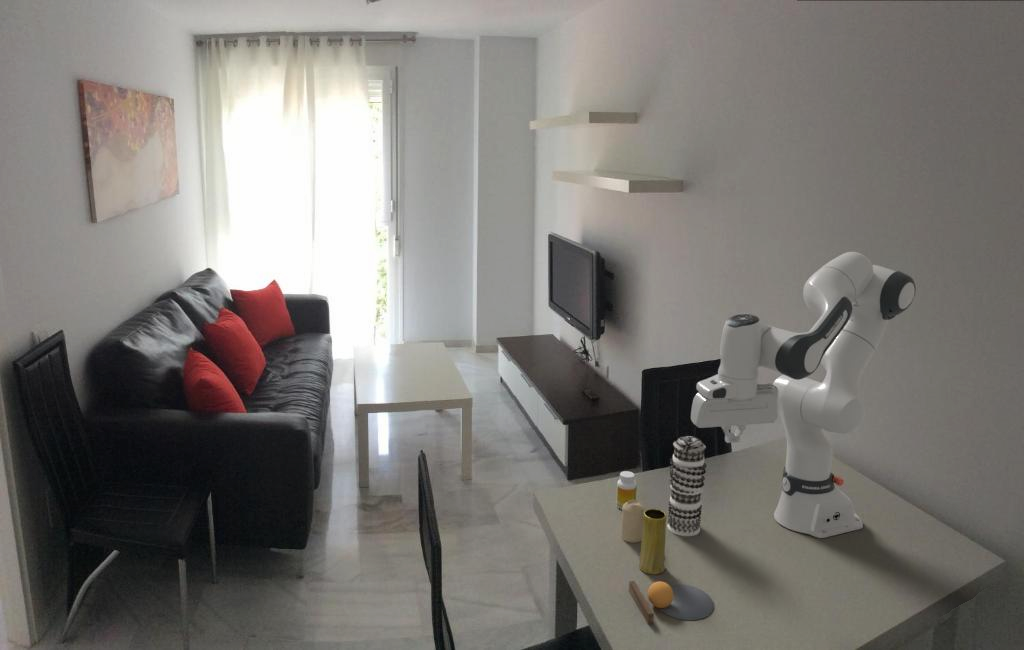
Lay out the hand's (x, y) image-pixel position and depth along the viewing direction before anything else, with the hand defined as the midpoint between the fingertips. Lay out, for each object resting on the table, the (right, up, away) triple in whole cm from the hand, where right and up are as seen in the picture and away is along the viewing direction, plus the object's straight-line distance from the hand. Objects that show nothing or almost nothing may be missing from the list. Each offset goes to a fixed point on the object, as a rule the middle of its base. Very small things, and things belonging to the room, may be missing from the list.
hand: (732, 441), depth 175 cm
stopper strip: (-23, -35, -10) cm, 43 cm away
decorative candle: (-6, -26, +23) cm, 35 cm away
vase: (-18, -31, +5) cm, 36 cm away
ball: (-19, -32, -10) cm, 38 cm away
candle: (-21, -28, +18) cm, 39 cm away
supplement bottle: (-20, -23, +34) cm, 46 cm away
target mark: (-13, -34, -8) cm, 38 cm away
